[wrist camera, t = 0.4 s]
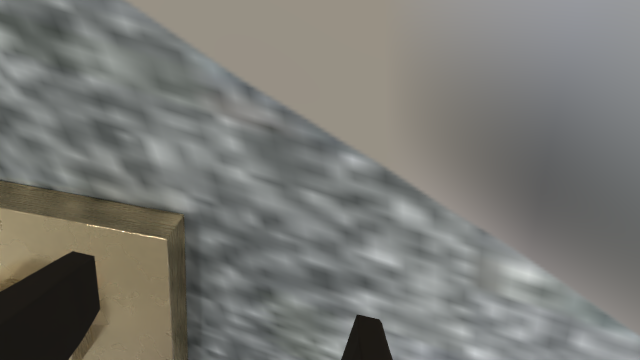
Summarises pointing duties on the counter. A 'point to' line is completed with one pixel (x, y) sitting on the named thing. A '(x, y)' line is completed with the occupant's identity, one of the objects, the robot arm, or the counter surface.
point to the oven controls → (105, 266)
